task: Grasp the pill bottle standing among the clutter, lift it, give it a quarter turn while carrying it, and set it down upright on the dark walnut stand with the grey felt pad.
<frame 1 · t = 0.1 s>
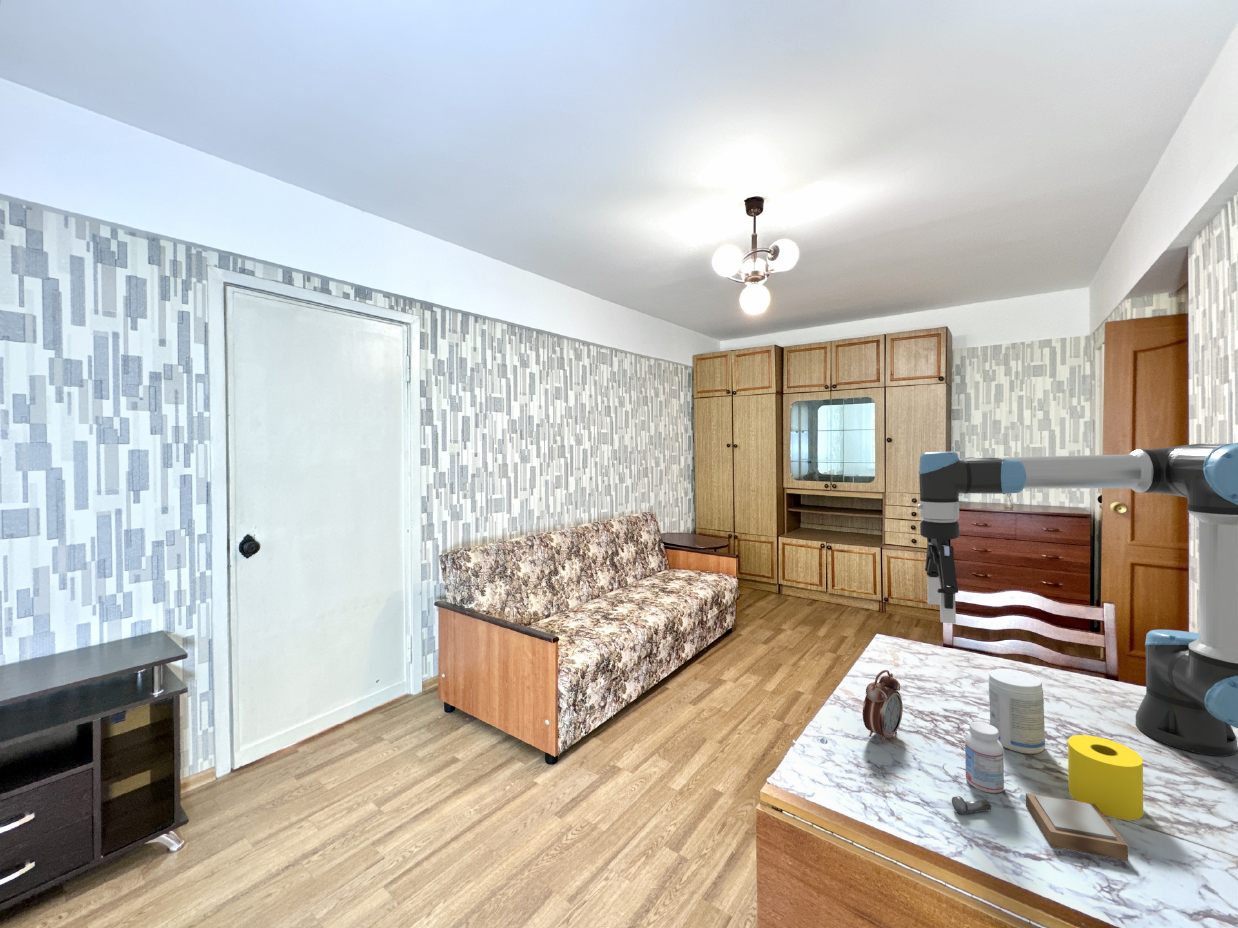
hand: (940, 612, 117), 28 cm above the table, fingers open, 13 cm apart
stand: (1073, 831, 88), on the table
supplement tub: (1016, 743, 114), on the table
pill bottle: (984, 785, 100), on the table
yellow toilet paper roll: (1104, 801, 95), on the table
loose bolt: (974, 810, 93), on the table
alarm clock: (883, 736, 118), on the table
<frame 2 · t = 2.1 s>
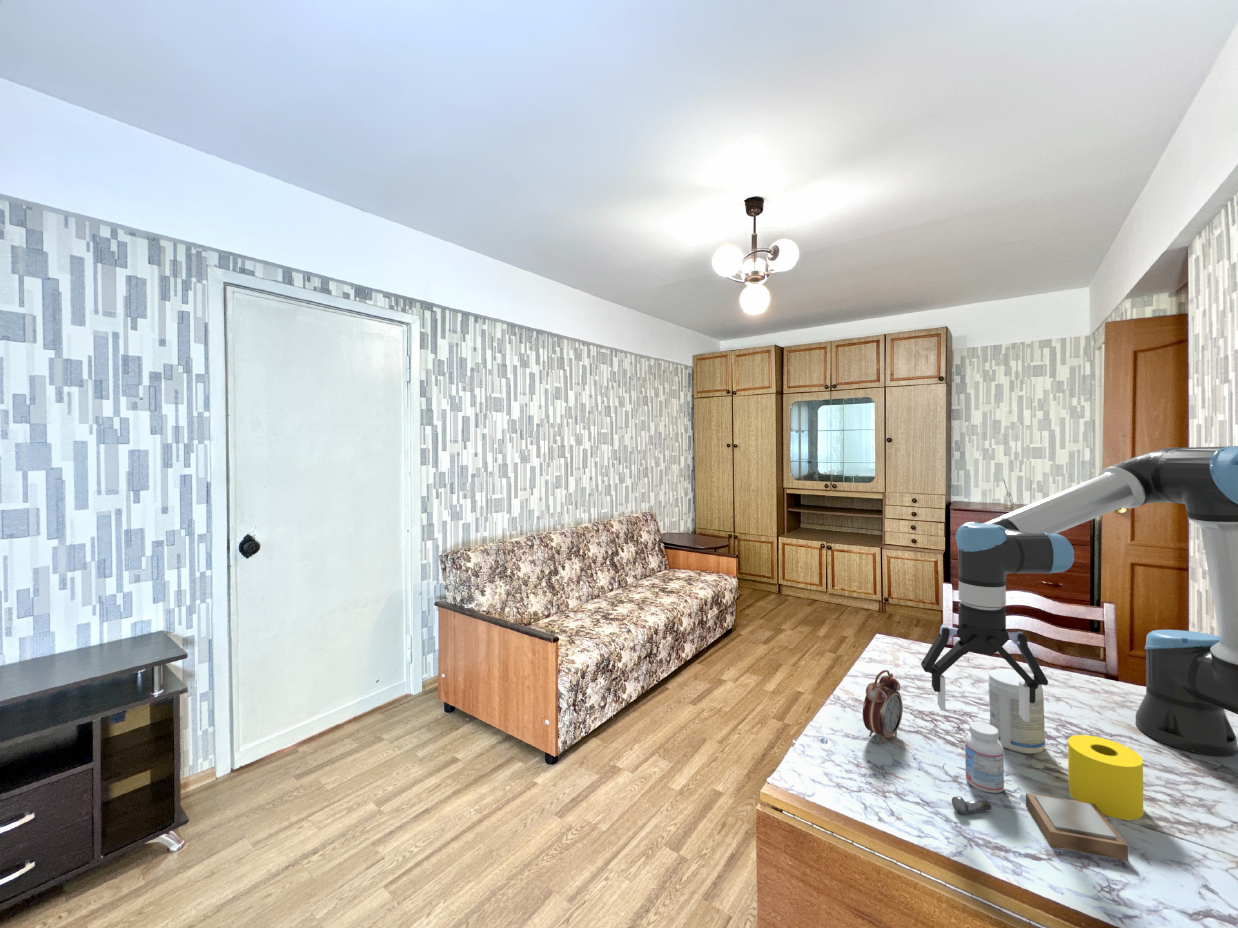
hand: (981, 712, 100), 14 cm above the table, fingers open, 13 cm apart
nothing on the table moved.
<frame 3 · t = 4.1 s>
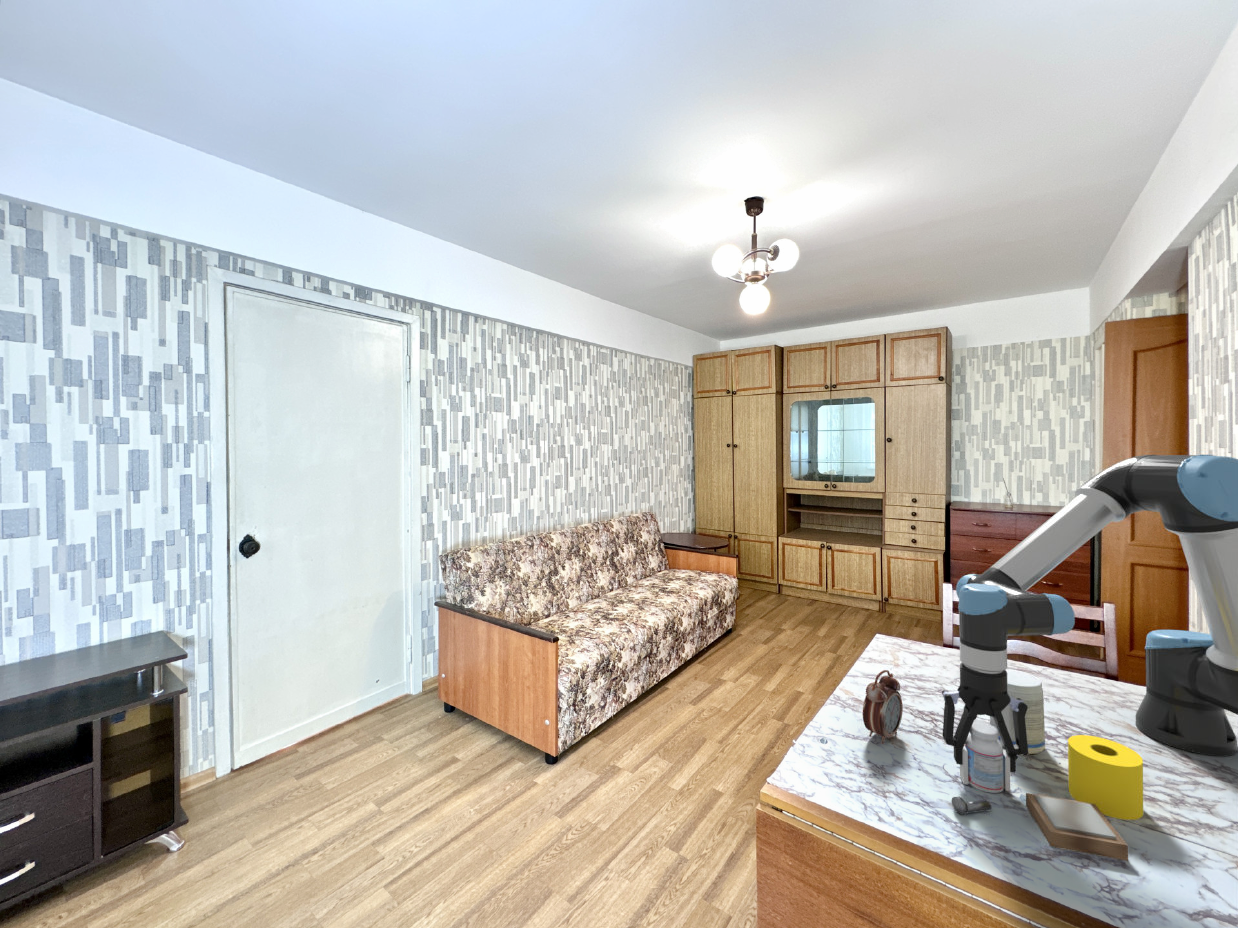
hand: (984, 782, 100), 0 cm above the table, fingers closed on pill bottle, 6 cm apart
pill bottle: (984, 785, 100), on the table, touching gripper
everything else where it was.
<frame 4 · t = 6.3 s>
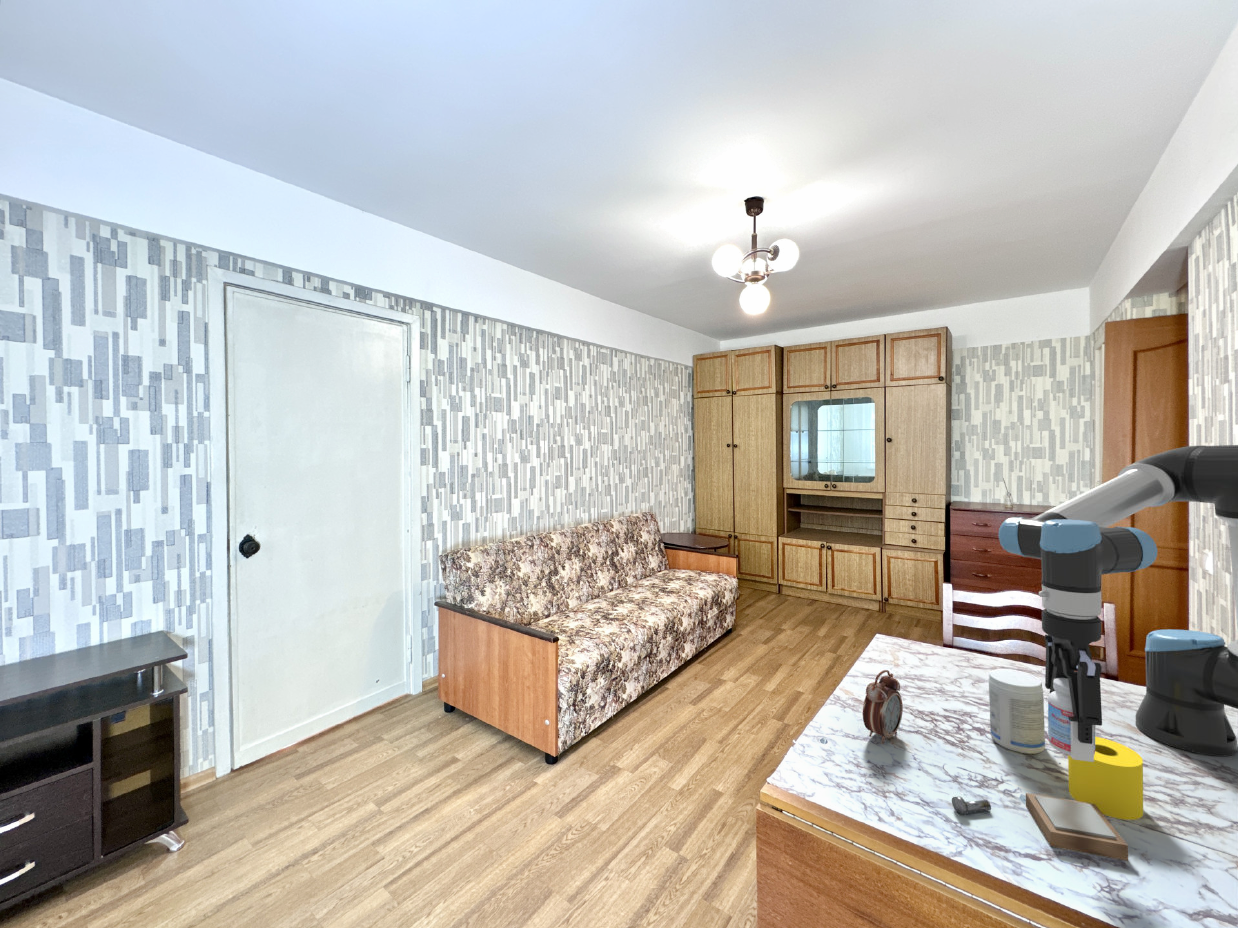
hand: (1072, 747, 87), 14 cm above the table, fingers closed on pill bottle, 6 cm apart
pill bottle: (1071, 750, 87), point 14 cm above the table, touching gripper
everything else where it was.
when the fingers open (4 cm above the table, at t = 8.4 s): pill bottle drops 1 cm, resting on stand.
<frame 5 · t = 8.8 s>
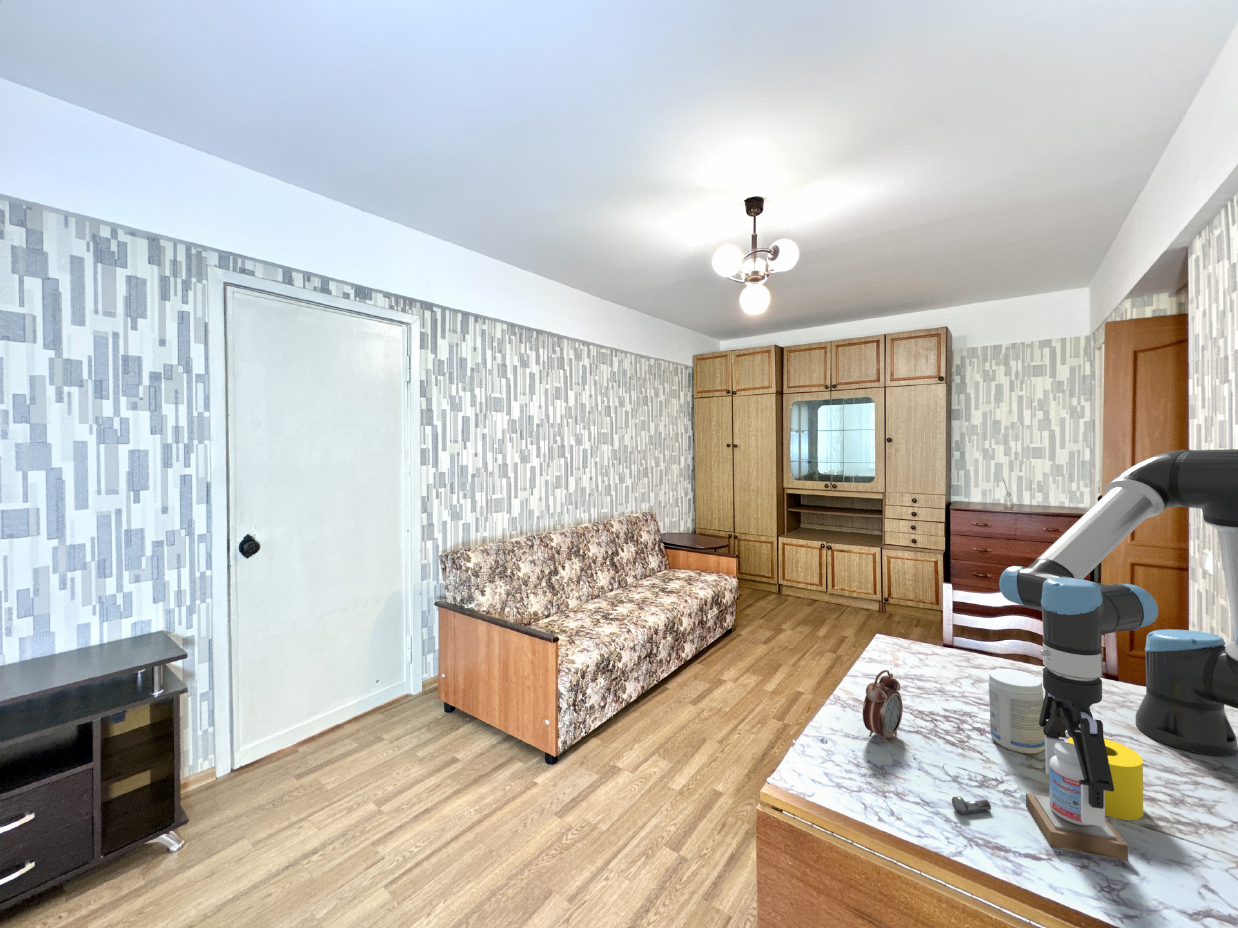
hand: (1072, 797, 87), 6 cm above the table, fingers open, 12 cm apart
pill bottle: (1072, 815, 88), point 3 cm above the table, touching stand
everything else where it was.
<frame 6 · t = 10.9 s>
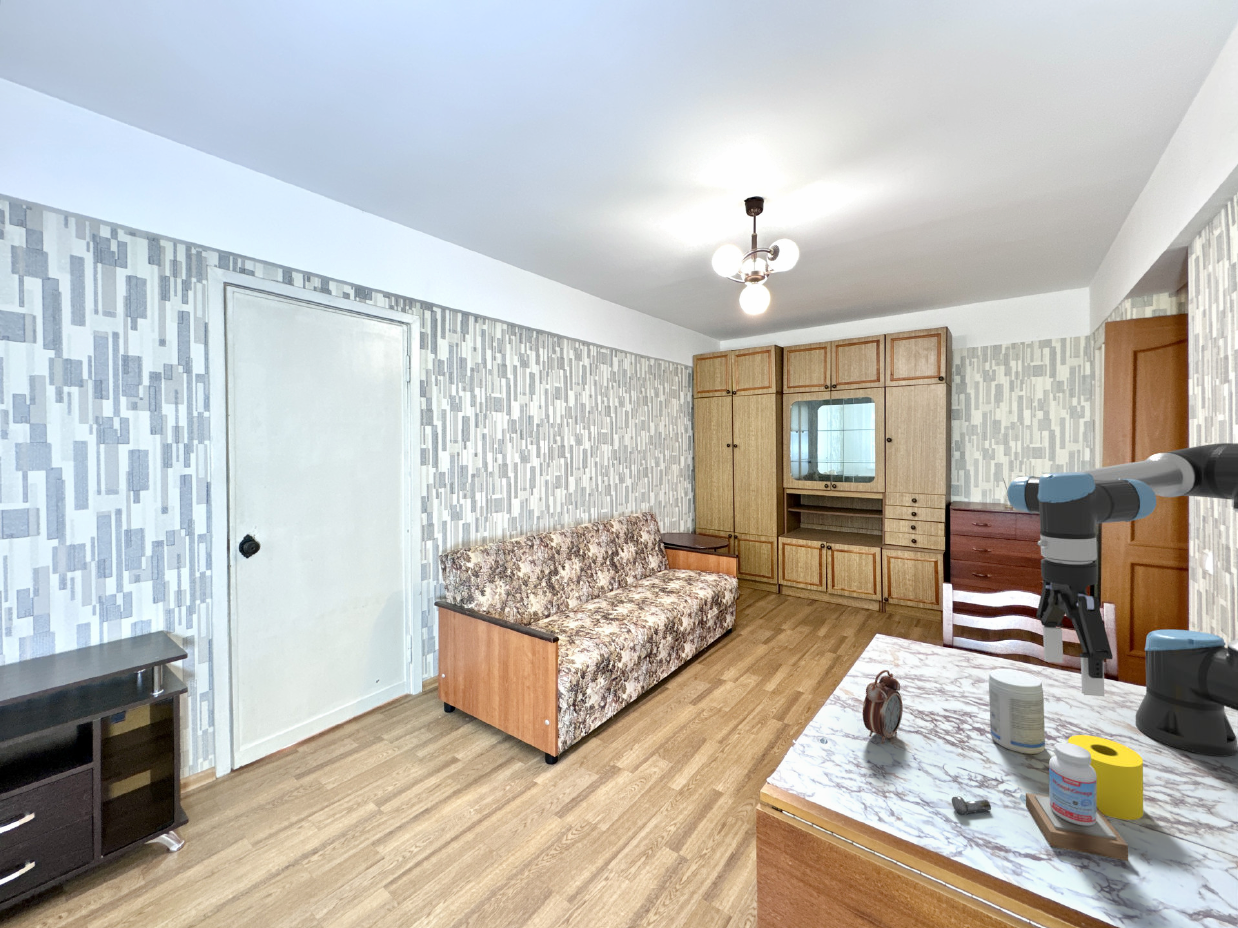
hand: (1071, 676, 92), 24 cm above the table, fingers open, 13 cm apart
nothing on the table moved.
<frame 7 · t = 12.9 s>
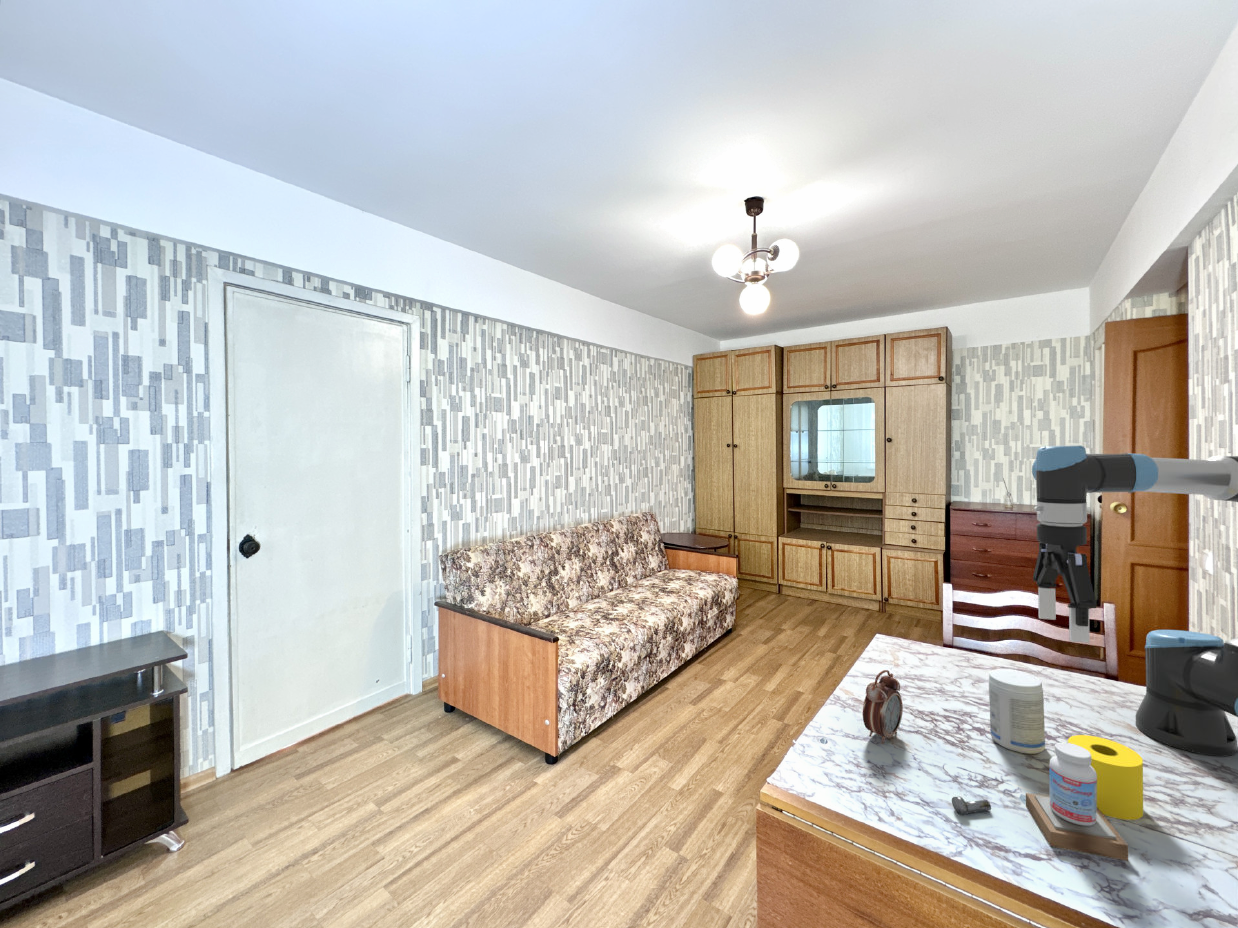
hand: (1062, 629, 103), 29 cm above the table, fingers open, 13 cm apart
nothing on the table moved.
at the end: pill bottle inside the target area on the stand (0.0 cm from its centre), point 2.7 cm above the stand's base; pill bottle tilted 0°; the gripper is holding nothing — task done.
